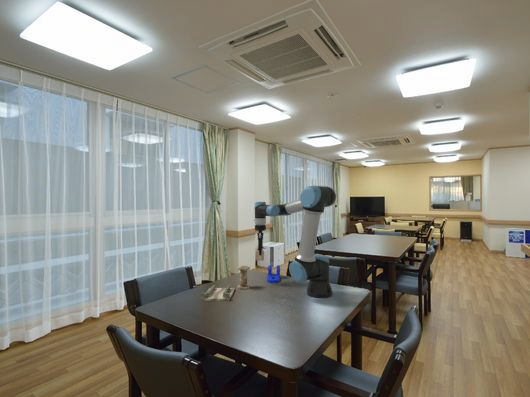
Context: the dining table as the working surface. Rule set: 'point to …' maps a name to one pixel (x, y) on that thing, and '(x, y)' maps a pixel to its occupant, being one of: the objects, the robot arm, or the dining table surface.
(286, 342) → the dining table surface
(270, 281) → the bracket
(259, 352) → the dining table surface
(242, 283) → the bobbin
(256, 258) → the tab
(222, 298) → the board
